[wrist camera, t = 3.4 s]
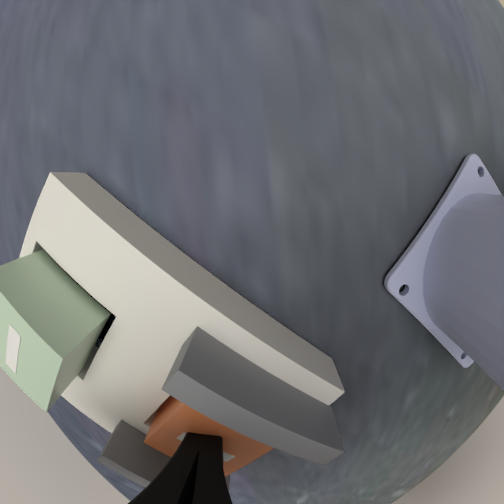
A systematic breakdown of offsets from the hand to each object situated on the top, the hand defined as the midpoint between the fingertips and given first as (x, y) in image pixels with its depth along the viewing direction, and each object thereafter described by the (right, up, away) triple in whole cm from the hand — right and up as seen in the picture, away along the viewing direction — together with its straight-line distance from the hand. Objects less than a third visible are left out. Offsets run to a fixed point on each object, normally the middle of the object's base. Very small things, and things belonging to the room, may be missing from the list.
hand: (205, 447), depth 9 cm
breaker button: (0, +1, +3) cm, 3 cm away
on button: (-6, +5, +1) cm, 8 cm away
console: (-3, +3, +3) cm, 5 cm away
